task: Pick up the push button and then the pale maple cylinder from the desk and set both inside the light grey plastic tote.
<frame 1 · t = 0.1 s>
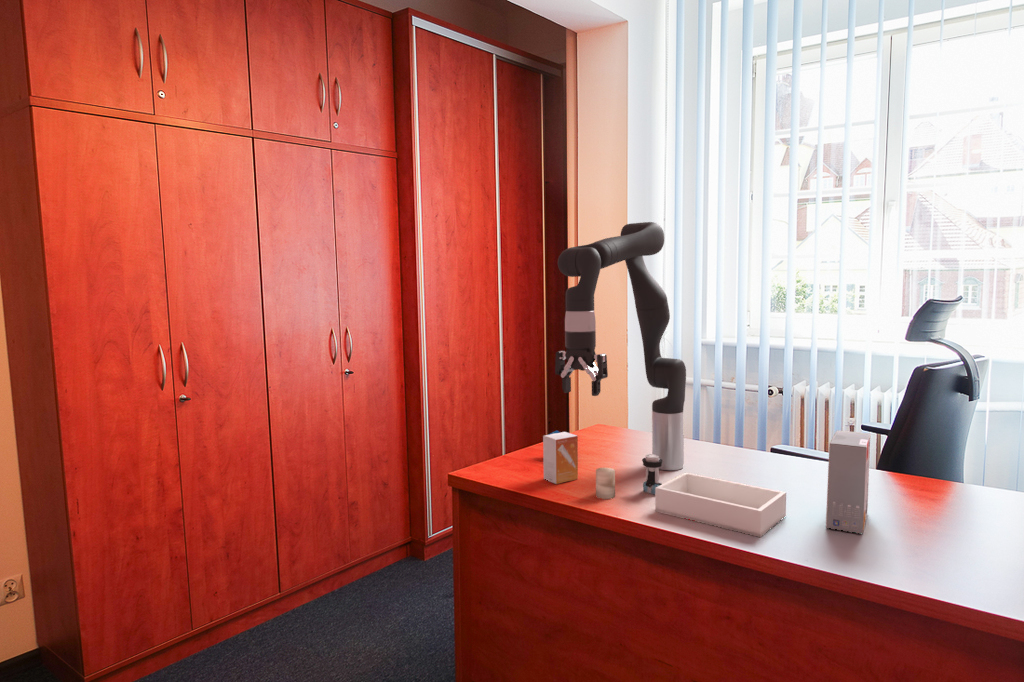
hand: (581, 393, 161), 29 cm above the table, tool pointing down, fingers open, 8 cm apart
crystal: (560, 459, 209), on the table
small box: (560, 480, 187), on the table
hard drive box: (847, 522, 151), on the table
maple cylinder: (605, 496, 172), on the table
tote: (719, 513, 158), on the table
push button: (654, 493, 174), on the table
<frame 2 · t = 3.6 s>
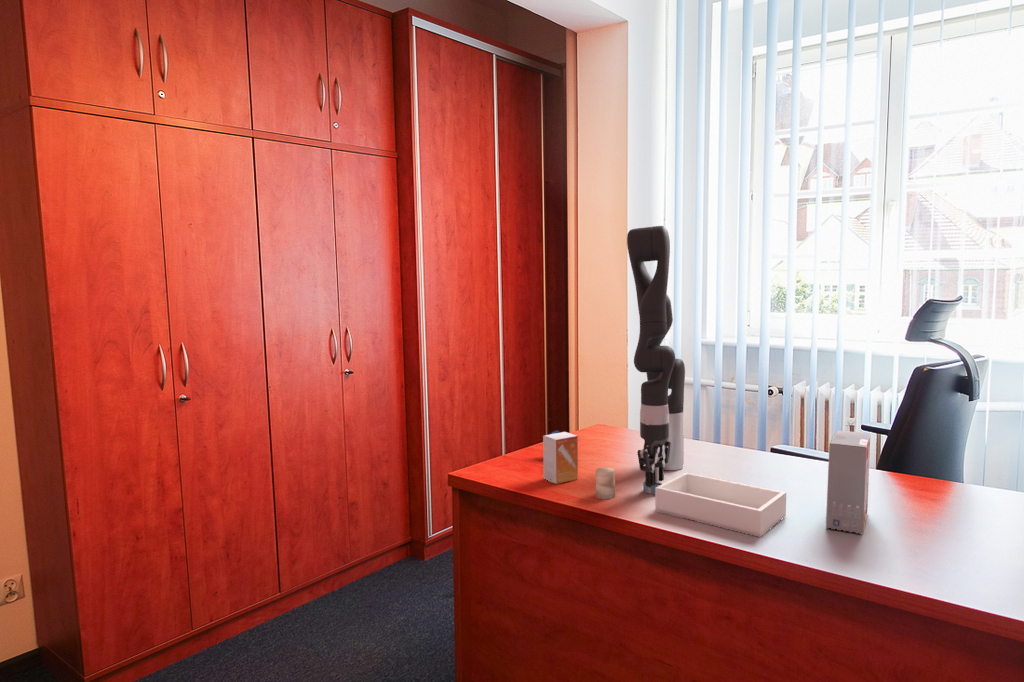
hand: (654, 482, 174), 3 cm above the table, tool pointing down, fingers closed on push button, 4 cm apart
push button: (654, 493, 174), on the table, touching gripper
everything else where it was.
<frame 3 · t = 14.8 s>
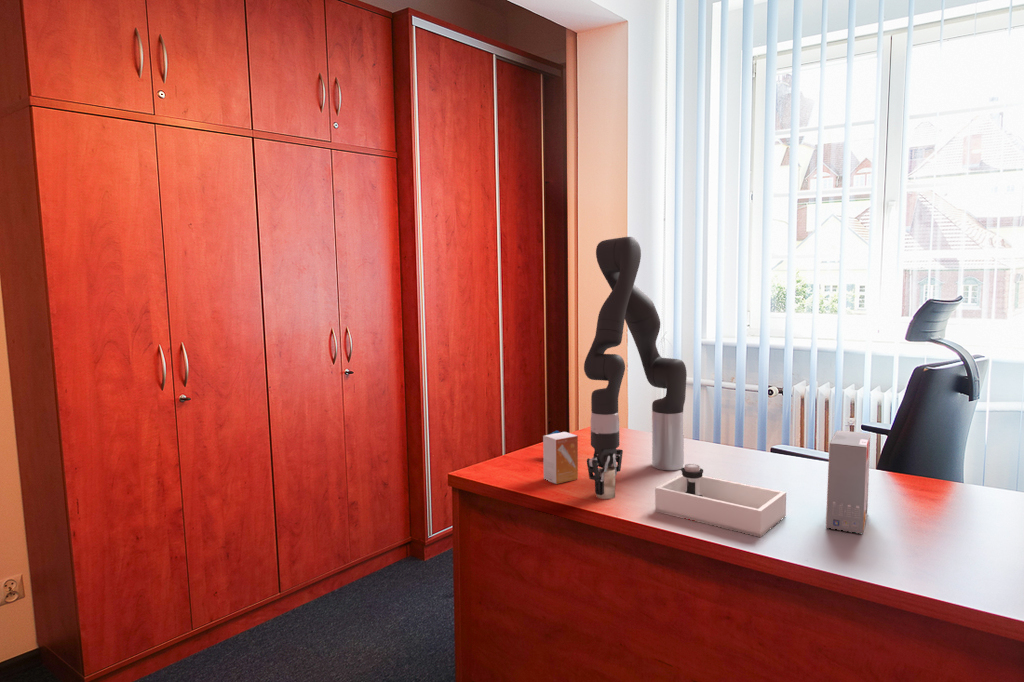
hand: (605, 491, 172), 1 cm above the table, tool pointing down, fingers closed on maple cylinder, 5 cm apart
maple cylinder: (605, 495, 172), on the table, touching gripper
push button: (694, 506, 161), point 1 cm above the table, touching tote
everything else where it was.
when the fingers open (4 cm above the table, at t = 22.5 s): maple cylinder drops 1 cm, resting on tote.
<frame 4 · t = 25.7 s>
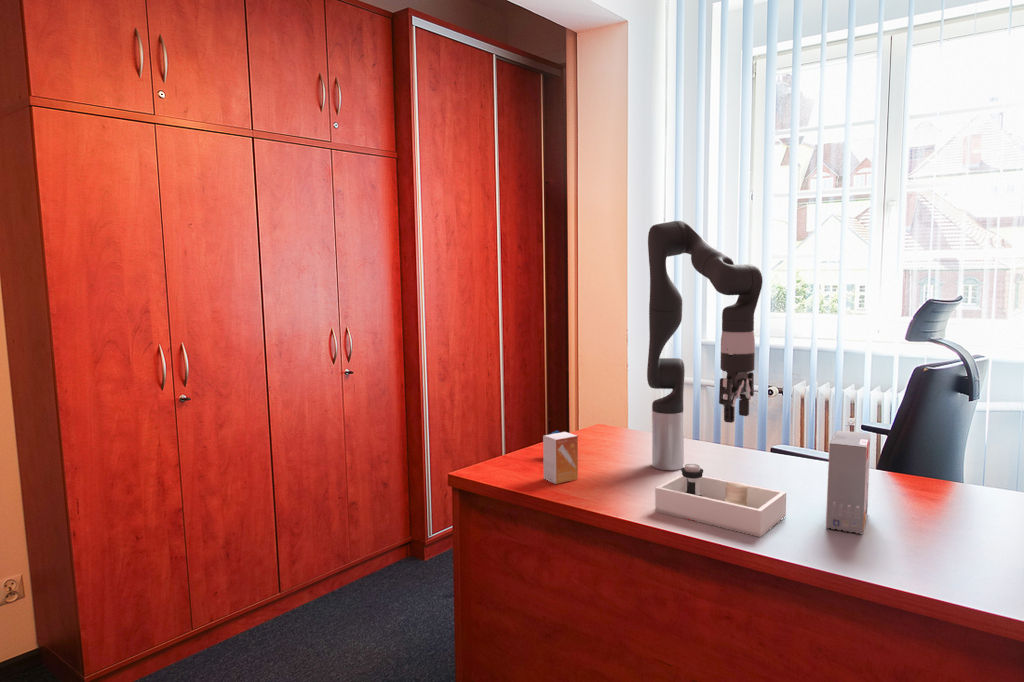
hand: (736, 418, 153), 24 cm above the table, tool pointing down, fingers open, 8 cm apart
maple cylinder: (735, 514, 155), point 1 cm above the table, touching tote
everything else where it was.
at the end: push button inside the target area on the tote (6.4 cm from its centre), point 0.6 cm above the tote's base; maple cylinder inside the target area on the tote (4.0 cm from its centre), point 0.9 cm above the tote's base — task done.
